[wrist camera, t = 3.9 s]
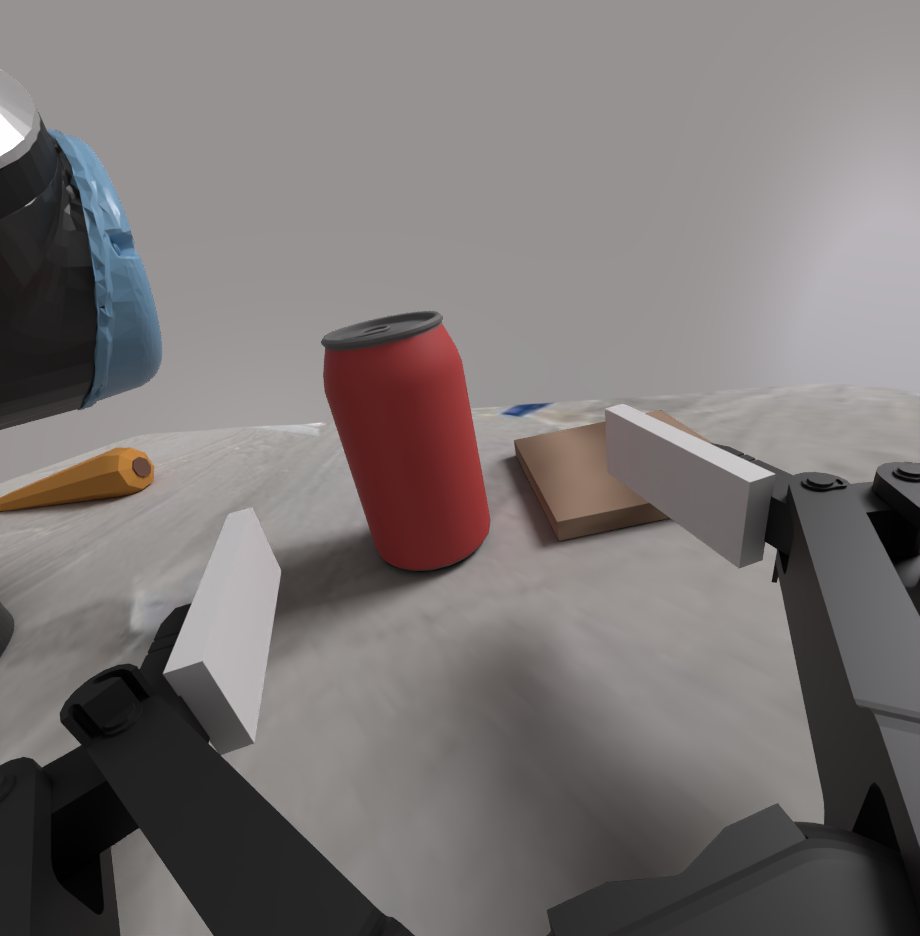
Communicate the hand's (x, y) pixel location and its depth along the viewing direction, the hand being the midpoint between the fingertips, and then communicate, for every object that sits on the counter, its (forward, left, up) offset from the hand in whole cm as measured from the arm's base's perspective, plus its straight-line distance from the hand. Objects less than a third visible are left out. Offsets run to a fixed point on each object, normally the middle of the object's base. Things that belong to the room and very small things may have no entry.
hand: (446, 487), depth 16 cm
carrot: (-37, +26, -7) cm, 46 cm away
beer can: (-2, +7, -7) cm, 10 cm away
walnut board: (+10, +10, -7) cm, 16 cm away
